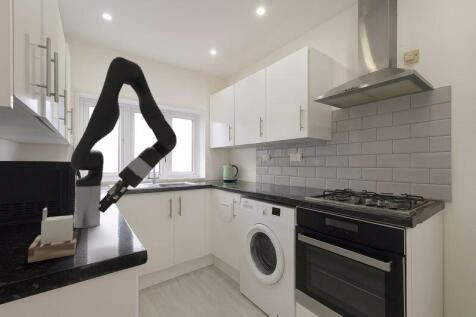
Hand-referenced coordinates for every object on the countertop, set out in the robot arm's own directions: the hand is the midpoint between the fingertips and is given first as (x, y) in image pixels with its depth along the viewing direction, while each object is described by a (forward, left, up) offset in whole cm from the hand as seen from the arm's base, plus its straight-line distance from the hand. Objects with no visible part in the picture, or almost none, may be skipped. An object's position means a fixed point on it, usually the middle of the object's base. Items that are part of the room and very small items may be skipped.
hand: (100, 207), depth 76 cm
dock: (+1, -12, -12) cm, 16 cm away
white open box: (+1, -11, -10) cm, 15 cm away
